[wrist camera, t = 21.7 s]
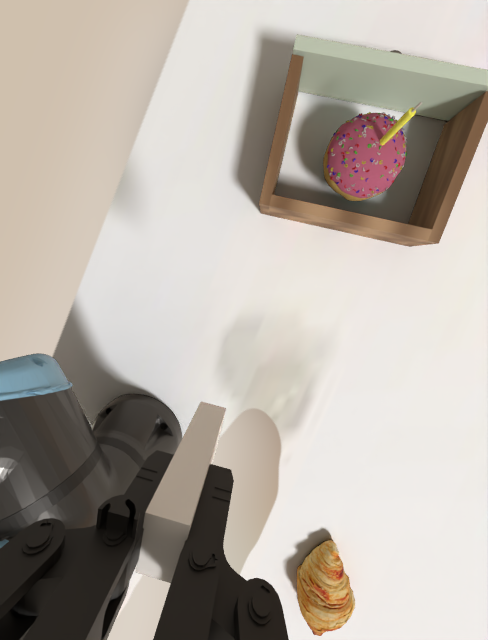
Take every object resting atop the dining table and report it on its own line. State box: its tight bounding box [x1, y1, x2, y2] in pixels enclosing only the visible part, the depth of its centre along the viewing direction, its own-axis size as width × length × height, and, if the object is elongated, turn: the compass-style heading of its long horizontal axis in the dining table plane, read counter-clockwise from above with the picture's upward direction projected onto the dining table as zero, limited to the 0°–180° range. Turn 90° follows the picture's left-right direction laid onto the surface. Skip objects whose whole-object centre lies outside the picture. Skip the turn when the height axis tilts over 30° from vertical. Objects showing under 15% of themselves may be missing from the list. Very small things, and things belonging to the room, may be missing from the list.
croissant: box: [297, 540, 355, 636], centre depth 45 cm, size 21×10×8 cm, turn 177°
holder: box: [259, 54, 488, 247], centre depth 29 cm, size 22×16×6 cm
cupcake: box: [323, 102, 422, 201], centre depth 26 cm, size 9×8×12 cm
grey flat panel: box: [293, 35, 488, 121], centre depth 27 cm, size 20×3×6 cm, turn 77°
